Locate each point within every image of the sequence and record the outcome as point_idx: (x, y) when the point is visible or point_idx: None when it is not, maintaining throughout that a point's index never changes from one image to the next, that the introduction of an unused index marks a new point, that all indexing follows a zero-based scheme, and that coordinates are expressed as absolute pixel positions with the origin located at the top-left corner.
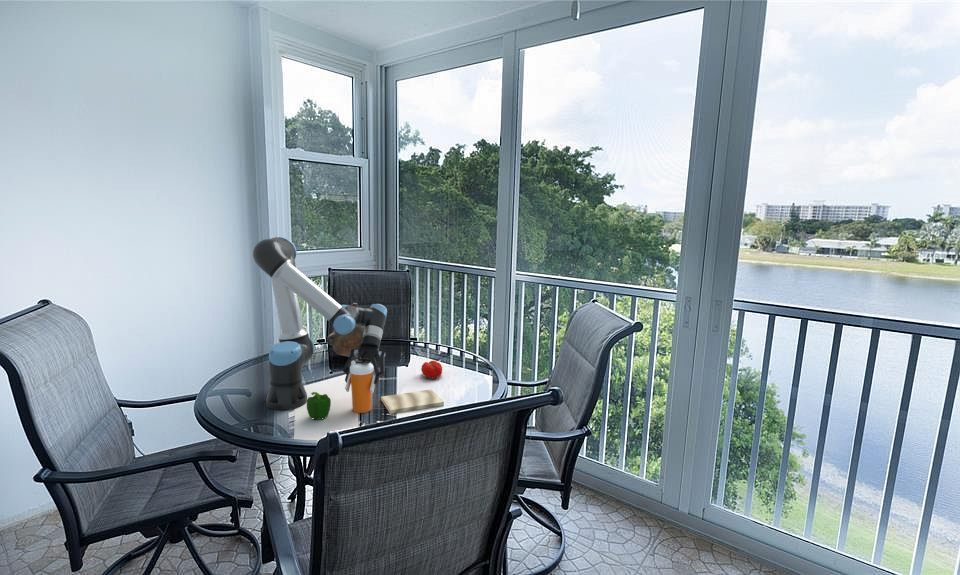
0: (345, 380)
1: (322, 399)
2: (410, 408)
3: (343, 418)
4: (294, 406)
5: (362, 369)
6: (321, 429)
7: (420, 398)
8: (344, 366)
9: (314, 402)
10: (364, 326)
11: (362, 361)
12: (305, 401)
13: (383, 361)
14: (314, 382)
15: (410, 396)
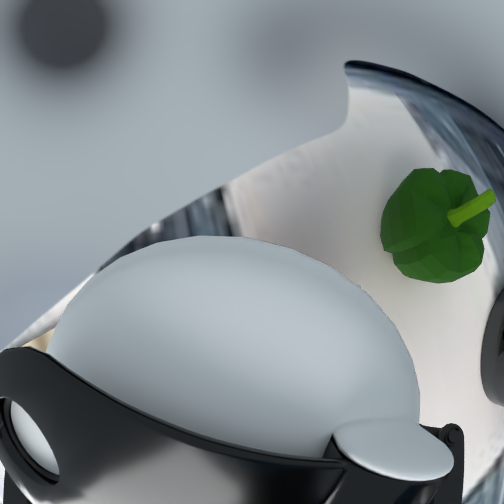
0: None
1: (435, 204)
2: (54, 328)
3: (309, 235)
4: (500, 299)
5: (137, 261)
6: (354, 142)
7: None
8: (461, 468)
9: (448, 171)
10: None
11: (116, 462)
12: (485, 351)
13: (8, 499)
14: (464, 497)
15: None
